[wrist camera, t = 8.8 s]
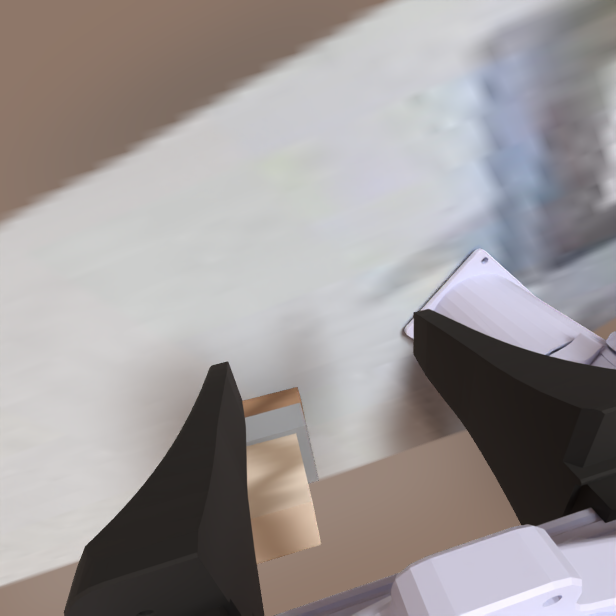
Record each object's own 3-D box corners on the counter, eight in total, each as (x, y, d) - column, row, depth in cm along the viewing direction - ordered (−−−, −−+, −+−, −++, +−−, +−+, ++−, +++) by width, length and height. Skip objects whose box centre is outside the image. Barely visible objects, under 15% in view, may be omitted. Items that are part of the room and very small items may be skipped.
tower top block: (300, 402, 27) (306, 425, 25) (312, 456, 30) (318, 480, 28) (213, 426, 26) (212, 451, 24) (236, 479, 29) (237, 504, 28)
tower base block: (296, 382, 29) (301, 402, 27) (306, 436, 32) (312, 457, 30) (214, 403, 28) (214, 425, 26) (234, 456, 31) (235, 478, 29)
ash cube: (296, 433, 25) (312, 501, 21) (305, 476, 28) (321, 544, 23) (224, 452, 24) (226, 526, 20) (240, 494, 27) (245, 567, 23)
